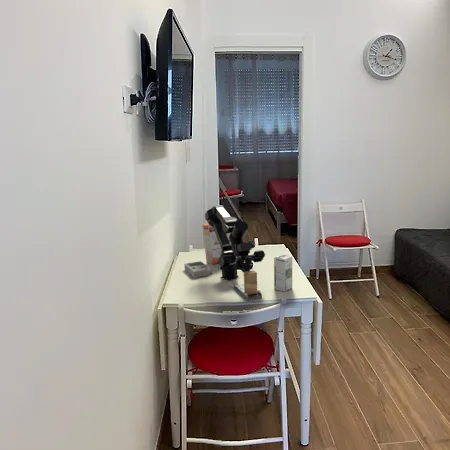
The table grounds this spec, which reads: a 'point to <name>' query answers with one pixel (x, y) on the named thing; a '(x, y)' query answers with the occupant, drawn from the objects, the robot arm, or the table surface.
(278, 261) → the syrup box
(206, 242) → the cracker box
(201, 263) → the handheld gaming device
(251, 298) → the rail
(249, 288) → the brown rectangular block
